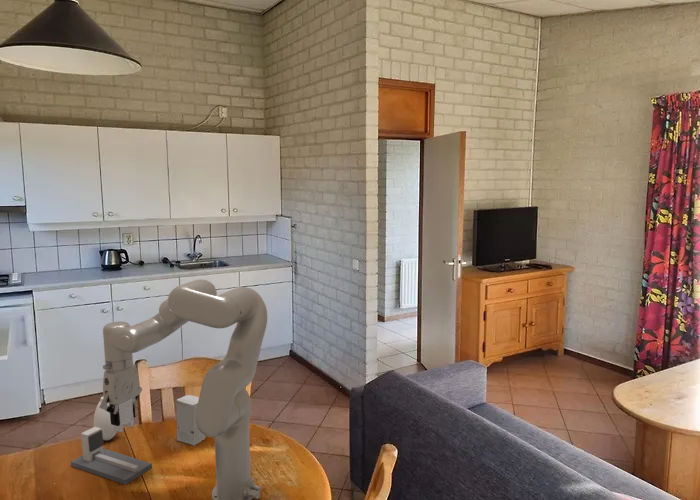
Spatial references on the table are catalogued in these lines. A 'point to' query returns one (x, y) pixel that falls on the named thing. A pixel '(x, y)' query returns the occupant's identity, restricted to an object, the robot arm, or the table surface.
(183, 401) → the skincare box
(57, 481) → the table surface
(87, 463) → the rail base
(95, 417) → the sauce bottle
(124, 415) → the left finger
